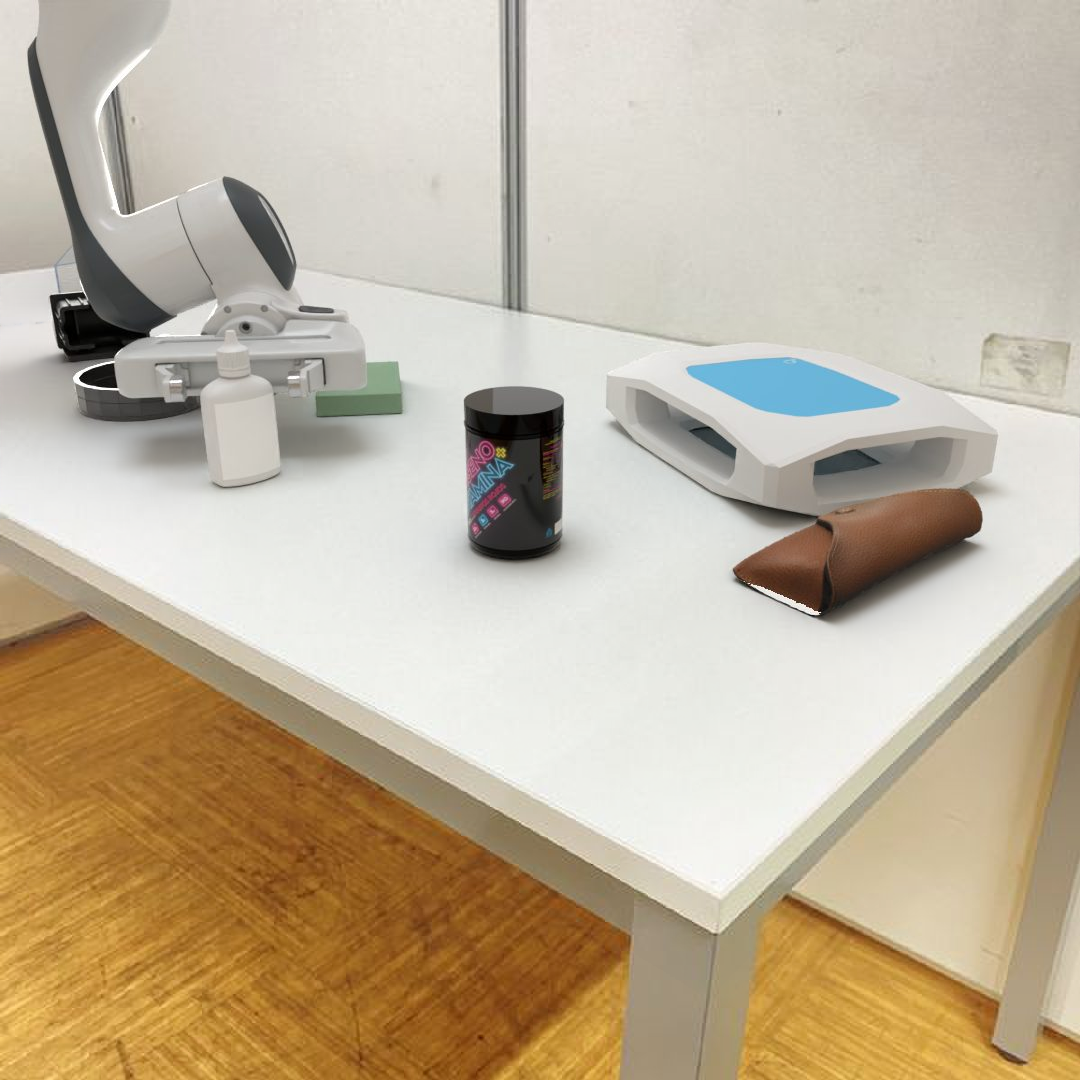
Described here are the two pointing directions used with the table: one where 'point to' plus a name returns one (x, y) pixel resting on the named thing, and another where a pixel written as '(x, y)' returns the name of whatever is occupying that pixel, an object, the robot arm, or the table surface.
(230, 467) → the eye dropper bottle
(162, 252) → the robot arm
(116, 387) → the pan
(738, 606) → the table surface
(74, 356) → the end cap
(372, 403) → the block
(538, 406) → the supplement container
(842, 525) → the sunglasses case
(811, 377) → the white step platform
